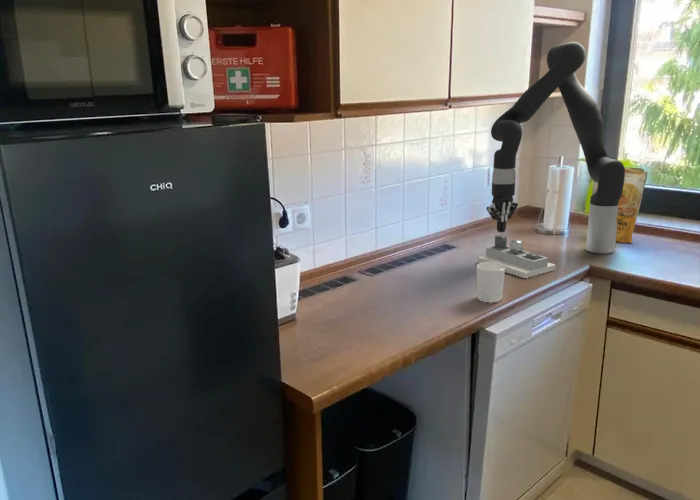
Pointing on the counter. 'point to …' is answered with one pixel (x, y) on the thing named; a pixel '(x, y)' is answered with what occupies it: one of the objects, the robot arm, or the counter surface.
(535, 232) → the counter surface
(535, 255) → the charcoal knob
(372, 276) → the counter surface
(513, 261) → the panel
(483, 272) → the white cup
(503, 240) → the charcoal knob
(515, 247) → the steel knob
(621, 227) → the pancake mix bag
